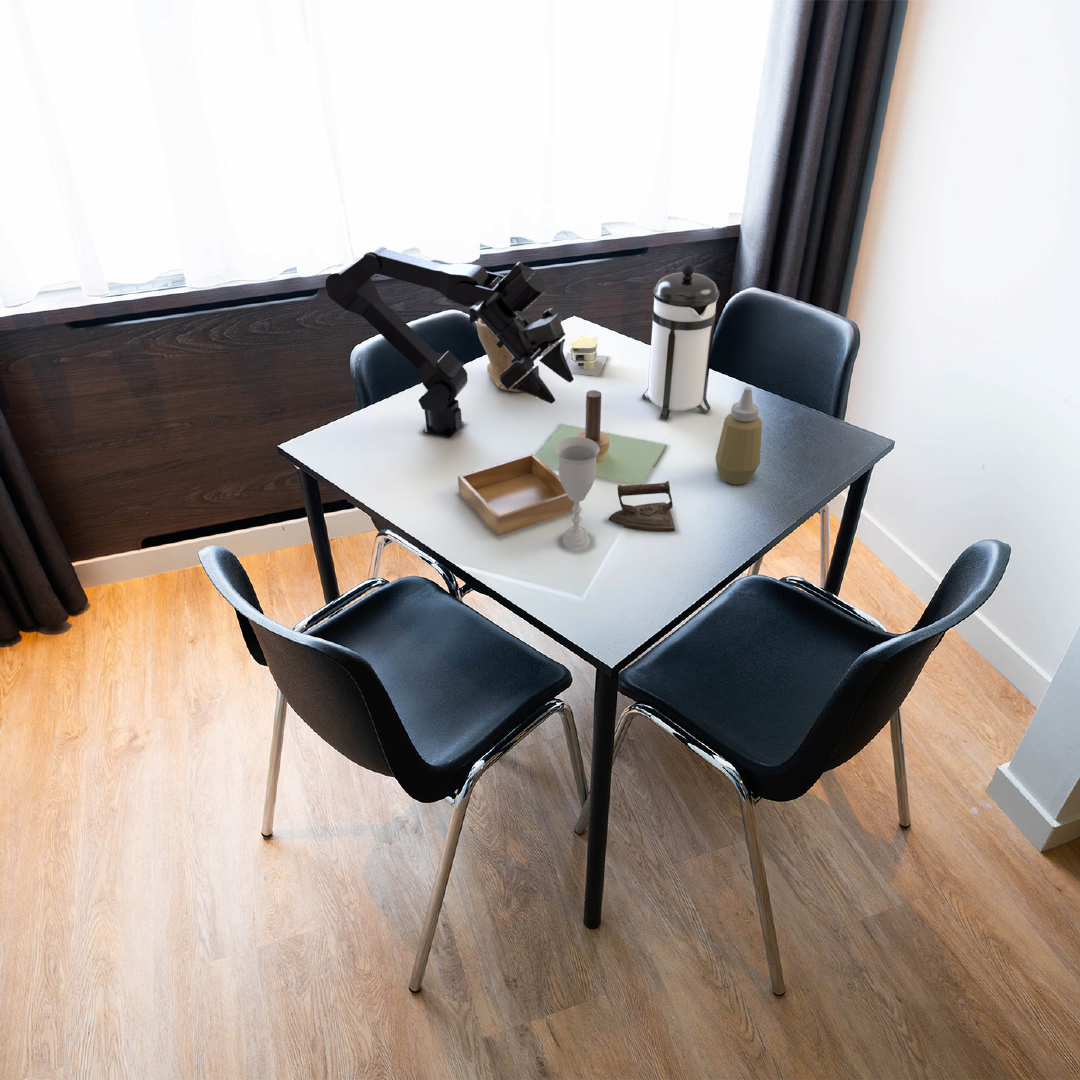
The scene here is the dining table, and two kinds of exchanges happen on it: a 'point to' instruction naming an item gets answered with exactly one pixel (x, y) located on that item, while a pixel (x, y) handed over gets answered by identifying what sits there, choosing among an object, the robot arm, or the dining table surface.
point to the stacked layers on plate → (585, 357)
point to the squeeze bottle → (740, 442)
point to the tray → (515, 494)
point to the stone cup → (494, 354)
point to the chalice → (577, 481)
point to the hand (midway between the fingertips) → (562, 391)
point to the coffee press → (681, 341)
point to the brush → (595, 424)
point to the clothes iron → (645, 509)
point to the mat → (611, 456)
